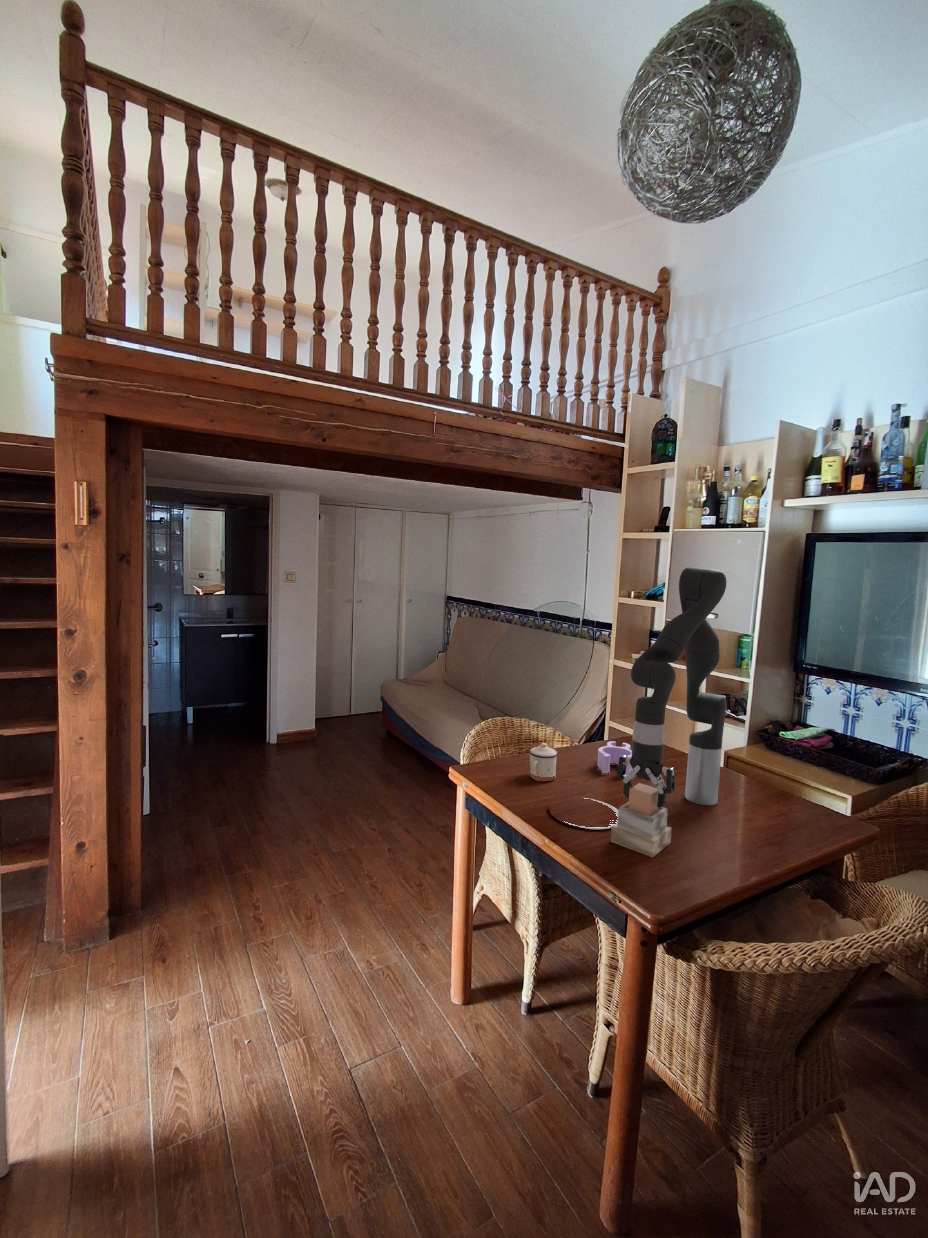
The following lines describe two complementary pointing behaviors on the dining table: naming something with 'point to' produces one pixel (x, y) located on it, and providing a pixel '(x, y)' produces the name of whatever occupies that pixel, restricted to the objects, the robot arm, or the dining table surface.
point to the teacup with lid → (543, 761)
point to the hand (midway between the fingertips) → (643, 801)
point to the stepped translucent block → (641, 831)
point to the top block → (643, 799)
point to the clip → (613, 756)
